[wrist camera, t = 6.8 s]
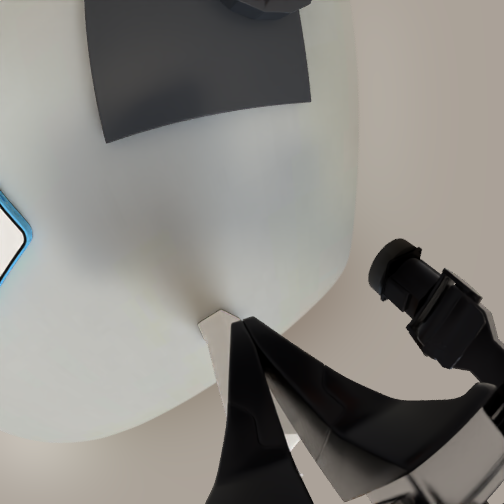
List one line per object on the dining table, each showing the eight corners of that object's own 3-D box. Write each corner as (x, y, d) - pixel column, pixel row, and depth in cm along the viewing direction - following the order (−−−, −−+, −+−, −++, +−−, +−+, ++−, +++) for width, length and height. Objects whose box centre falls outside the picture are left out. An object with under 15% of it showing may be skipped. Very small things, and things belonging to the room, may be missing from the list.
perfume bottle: (183, 334, 23) (234, 498, 11) (214, 301, 23) (289, 473, 11) (220, 349, 26) (280, 489, 14) (250, 320, 25) (329, 464, 13)
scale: (286, -39, 10) (307, -54, 8) (309, 101, 17) (334, 102, 15) (87, -19, 8) (78, -37, 5) (108, 141, 14) (100, 148, 12)
